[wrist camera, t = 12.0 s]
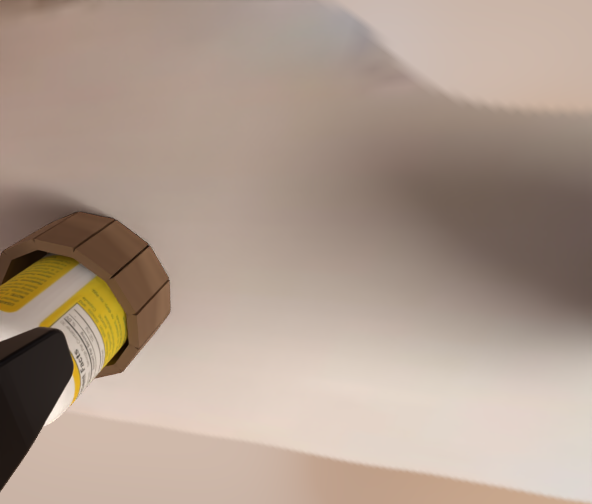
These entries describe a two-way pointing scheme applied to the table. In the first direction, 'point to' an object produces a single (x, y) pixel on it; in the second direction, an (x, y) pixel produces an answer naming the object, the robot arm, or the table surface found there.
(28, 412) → the robot arm
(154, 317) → the holder
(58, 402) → the supplement bottle
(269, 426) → the table surface
